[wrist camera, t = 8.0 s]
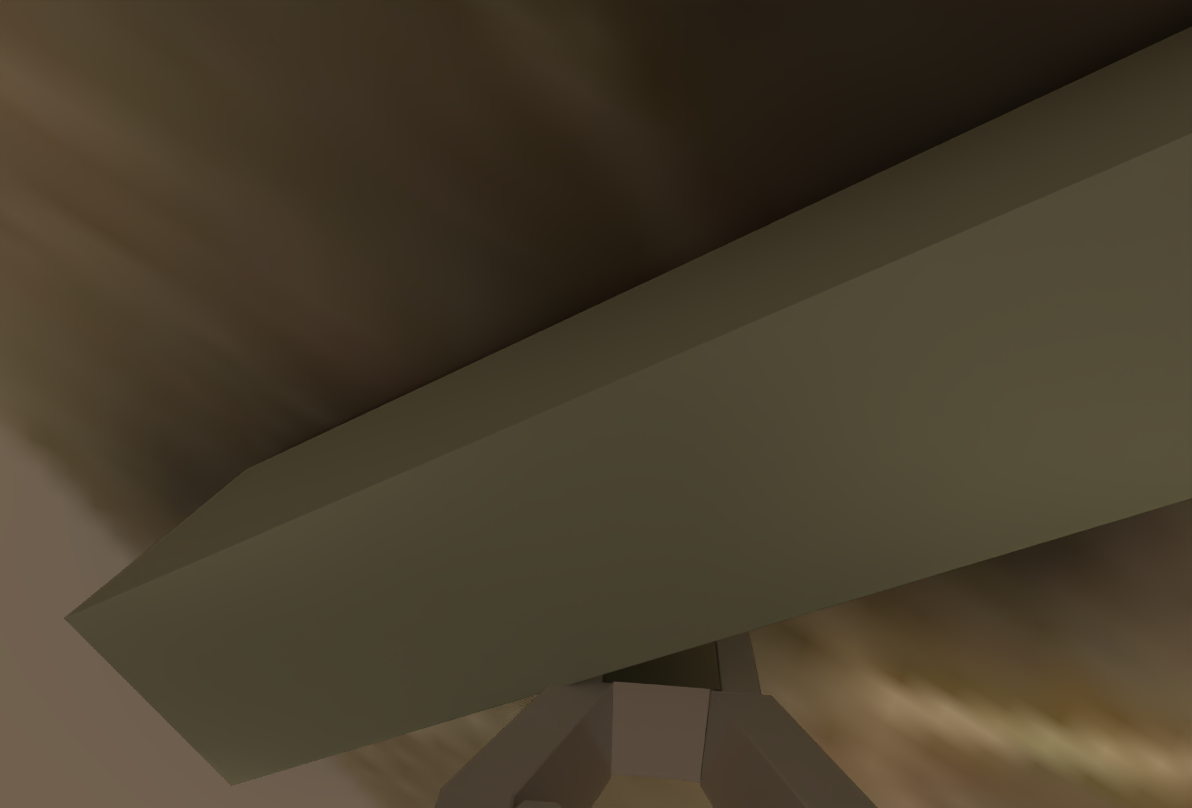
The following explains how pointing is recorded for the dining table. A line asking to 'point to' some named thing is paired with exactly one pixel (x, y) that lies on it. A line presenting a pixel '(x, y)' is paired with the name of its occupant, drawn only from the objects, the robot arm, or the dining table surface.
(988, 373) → the folding leg
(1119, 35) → the dining table surface
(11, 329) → the dining table surface
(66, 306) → the dining table surface
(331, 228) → the dining table surface
